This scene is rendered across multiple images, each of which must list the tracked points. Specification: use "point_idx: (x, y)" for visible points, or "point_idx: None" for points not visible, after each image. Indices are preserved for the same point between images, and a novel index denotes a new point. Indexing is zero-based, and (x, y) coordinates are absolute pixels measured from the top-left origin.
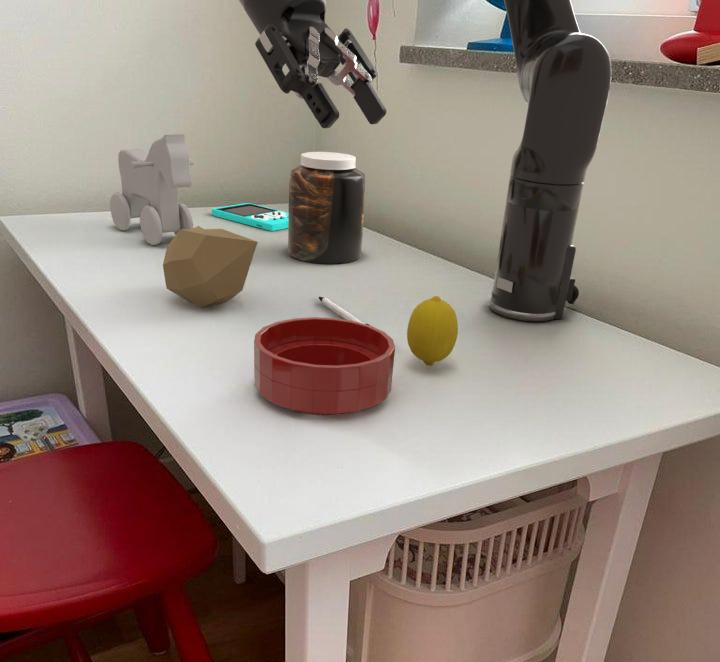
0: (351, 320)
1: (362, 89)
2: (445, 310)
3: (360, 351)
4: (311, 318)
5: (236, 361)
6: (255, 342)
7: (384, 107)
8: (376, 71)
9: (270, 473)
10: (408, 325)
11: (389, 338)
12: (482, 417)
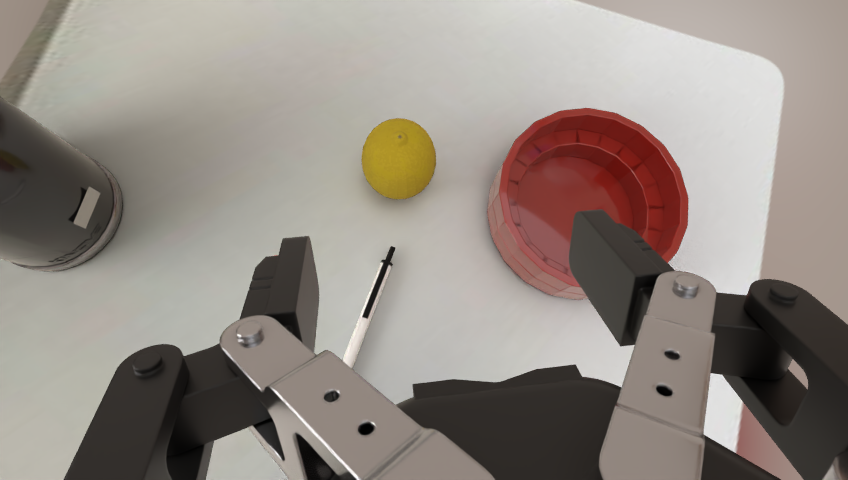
0: (355, 359)
1: (301, 332)
2: (405, 121)
3: (515, 199)
4: (550, 268)
5: (597, 364)
6: (677, 248)
7: (287, 240)
8: (123, 366)
9: (729, 128)
10: (425, 181)
11: (517, 144)
12: (473, 59)
